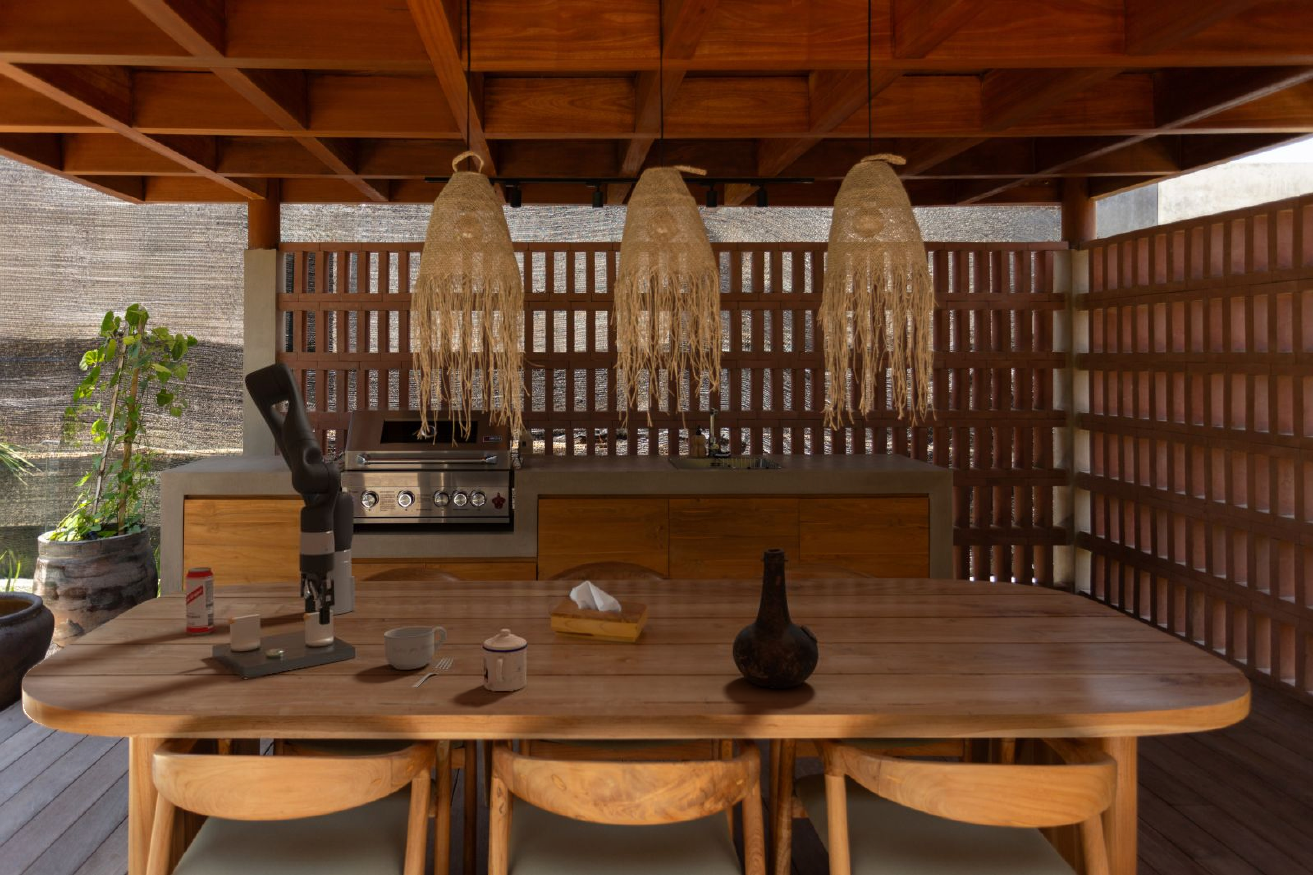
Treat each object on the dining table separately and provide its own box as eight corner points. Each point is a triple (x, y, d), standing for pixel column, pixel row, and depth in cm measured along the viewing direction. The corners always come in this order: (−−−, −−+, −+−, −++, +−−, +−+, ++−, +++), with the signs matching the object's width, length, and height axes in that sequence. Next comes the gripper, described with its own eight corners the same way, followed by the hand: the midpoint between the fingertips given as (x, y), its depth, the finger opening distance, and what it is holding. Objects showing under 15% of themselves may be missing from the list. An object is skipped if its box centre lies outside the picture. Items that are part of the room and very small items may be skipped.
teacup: (389, 676, 190) (389, 639, 190) (379, 662, 199) (379, 627, 199) (454, 667, 196) (454, 631, 196) (442, 654, 206) (441, 620, 206)
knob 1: (254, 642, 205) (254, 610, 205) (263, 647, 201) (263, 615, 201) (224, 647, 201) (223, 615, 201) (232, 653, 196) (232, 620, 196)
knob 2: (327, 637, 210) (326, 607, 209) (337, 643, 205) (337, 611, 205) (298, 642, 205) (298, 611, 205) (308, 648, 201) (308, 616, 200)
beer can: (202, 636, 220) (201, 572, 219) (180, 635, 221) (179, 571, 220) (220, 630, 226) (219, 567, 225) (198, 628, 227) (197, 566, 226)
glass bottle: (818, 698, 177) (820, 559, 176) (728, 693, 180) (730, 555, 179) (817, 671, 195) (819, 544, 194) (735, 667, 198) (736, 541, 197)
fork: (389, 701, 176) (389, 692, 175) (442, 665, 199) (442, 657, 199) (404, 702, 175) (404, 693, 175) (455, 666, 199) (455, 658, 199)
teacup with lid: (487, 678, 189) (487, 624, 188) (530, 679, 189) (530, 624, 188) (475, 697, 177) (475, 639, 176) (520, 698, 177) (520, 640, 176)
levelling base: (317, 638, 219) (317, 621, 219) (355, 657, 203) (355, 640, 203) (212, 656, 203) (212, 638, 203) (244, 679, 187) (244, 660, 187)
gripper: (345, 552, 201) (345, 624, 202) (321, 545, 212) (321, 612, 213) (312, 556, 196) (312, 629, 197) (289, 548, 207) (289, 617, 208)
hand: (317, 620), depth 205 cm, fingers open, 8 cm apart
